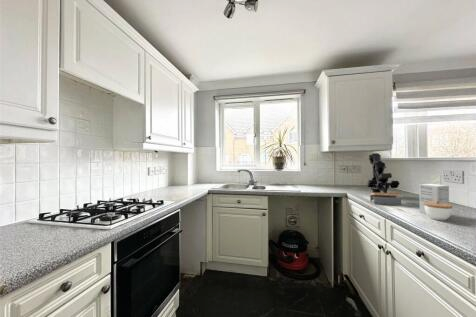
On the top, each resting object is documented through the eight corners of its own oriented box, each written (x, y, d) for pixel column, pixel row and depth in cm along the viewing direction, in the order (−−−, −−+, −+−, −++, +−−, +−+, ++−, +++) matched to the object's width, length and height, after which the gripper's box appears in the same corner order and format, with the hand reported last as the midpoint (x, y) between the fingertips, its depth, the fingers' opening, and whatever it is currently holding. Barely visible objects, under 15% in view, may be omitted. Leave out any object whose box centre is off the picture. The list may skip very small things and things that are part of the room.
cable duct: (370, 201, 151) (370, 194, 151) (395, 202, 146) (395, 195, 146) (374, 203, 143) (374, 196, 143) (401, 205, 138) (401, 198, 138)
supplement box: (430, 211, 123) (430, 183, 123) (449, 215, 114) (449, 185, 114) (418, 212, 120) (418, 183, 120) (437, 216, 111) (437, 185, 111)
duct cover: (370, 194, 151) (370, 192, 151) (395, 195, 146) (395, 193, 146) (373, 194, 143) (373, 192, 143) (401, 195, 138) (400, 193, 139)
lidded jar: (443, 216, 112) (443, 199, 112) (458, 222, 101) (458, 203, 101) (419, 215, 114) (419, 198, 114) (431, 220, 104) (431, 202, 104)
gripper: (368, 169, 150) (373, 185, 140) (398, 169, 145) (406, 186, 134) (365, 178, 158) (369, 195, 147) (393, 179, 152) (400, 196, 142)
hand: (386, 193), depth 143 cm, fingers closed
